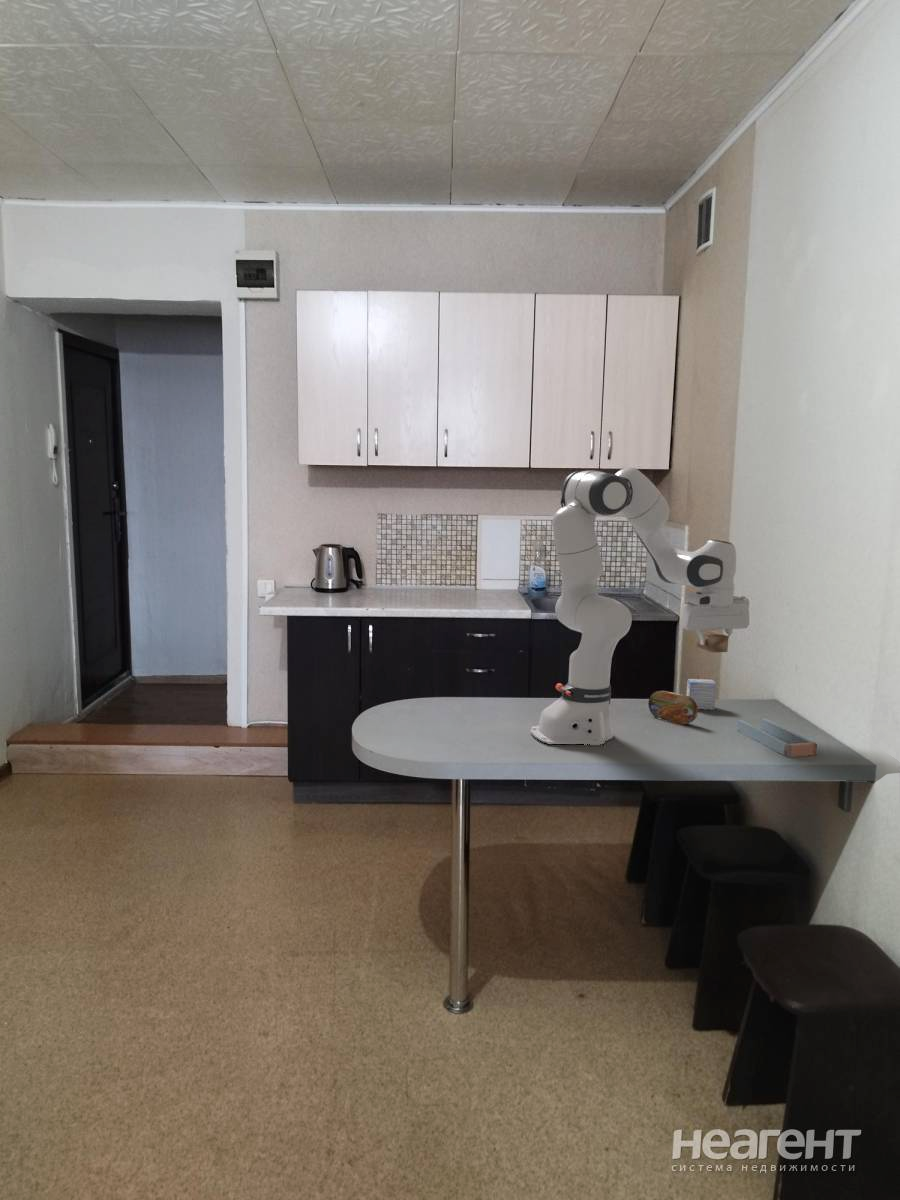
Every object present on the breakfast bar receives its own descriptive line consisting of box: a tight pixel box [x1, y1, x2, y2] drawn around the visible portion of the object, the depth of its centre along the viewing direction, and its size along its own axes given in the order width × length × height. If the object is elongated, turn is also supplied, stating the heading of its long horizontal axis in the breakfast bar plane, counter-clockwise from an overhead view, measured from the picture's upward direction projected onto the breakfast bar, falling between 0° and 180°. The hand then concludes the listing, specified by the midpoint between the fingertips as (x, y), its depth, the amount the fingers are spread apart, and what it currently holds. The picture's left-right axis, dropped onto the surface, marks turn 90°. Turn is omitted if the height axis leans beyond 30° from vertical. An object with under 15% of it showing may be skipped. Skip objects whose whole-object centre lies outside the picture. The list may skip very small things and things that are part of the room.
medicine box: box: [685, 678, 717, 711], centre depth 250 cm, size 8×4×9 cm, turn 84°
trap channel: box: [737, 718, 818, 758], centre depth 219 cm, size 9×22×3 cm, turn 14°
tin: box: [647, 690, 699, 725], centre depth 237 cm, size 15×3×8 cm, turn 44°
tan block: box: [696, 630, 730, 654], centre depth 234 cm, size 5×8×4 cm, turn 14°
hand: (713, 644), depth 233 cm, fingers closed on tan block, 5 cm apart
